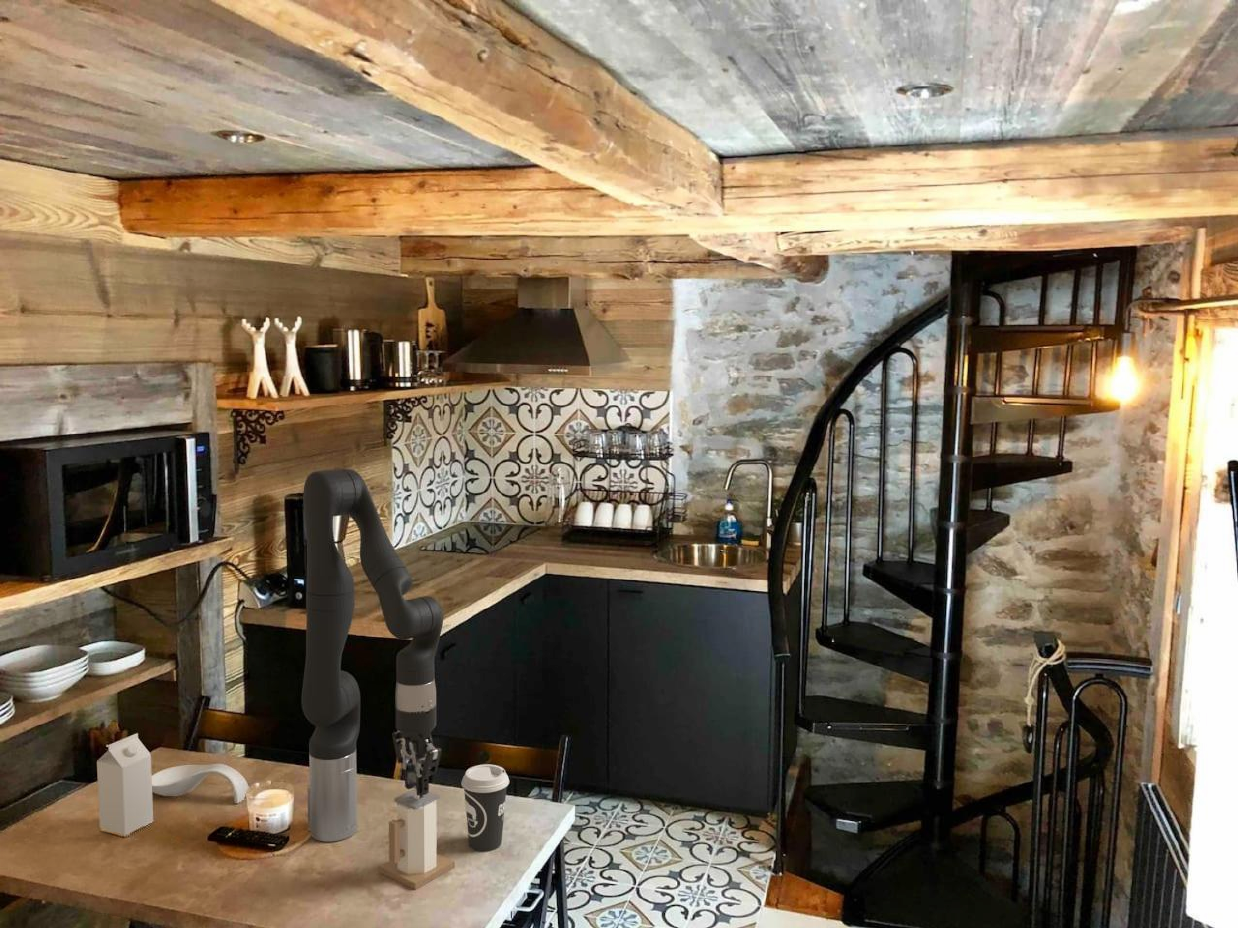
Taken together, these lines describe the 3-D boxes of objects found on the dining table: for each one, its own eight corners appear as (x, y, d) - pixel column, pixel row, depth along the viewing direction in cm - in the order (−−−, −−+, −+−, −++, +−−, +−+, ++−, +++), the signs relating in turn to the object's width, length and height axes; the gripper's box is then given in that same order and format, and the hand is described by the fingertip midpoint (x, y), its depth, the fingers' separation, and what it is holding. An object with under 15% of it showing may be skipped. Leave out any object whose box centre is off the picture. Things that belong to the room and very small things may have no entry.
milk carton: (99, 831, 203) (95, 742, 201) (128, 816, 209) (124, 730, 207) (125, 838, 200) (121, 748, 198) (153, 823, 207) (150, 735, 204)
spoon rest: (134, 799, 218) (133, 768, 217) (170, 777, 229) (169, 748, 228) (228, 812, 212) (227, 780, 212) (260, 789, 224) (260, 759, 223)
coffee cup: (500, 857, 195) (500, 784, 193) (454, 852, 196) (454, 779, 195) (515, 834, 204) (515, 765, 202) (471, 829, 206) (471, 760, 204)
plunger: (398, 839, 188) (398, 771, 187) (417, 829, 192) (417, 763, 191) (416, 847, 185) (415, 778, 184) (435, 837, 189) (434, 769, 188)
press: (374, 874, 187) (373, 801, 186) (419, 851, 196) (418, 781, 195) (410, 892, 182) (410, 816, 180) (454, 867, 191) (454, 794, 189)
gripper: (378, 698, 188) (379, 784, 190) (419, 717, 178) (420, 809, 180) (412, 689, 194) (413, 773, 195) (454, 708, 183) (454, 797, 185)
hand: (416, 790), depth 188 cm, fingers closed on plunger, 3 cm apart
